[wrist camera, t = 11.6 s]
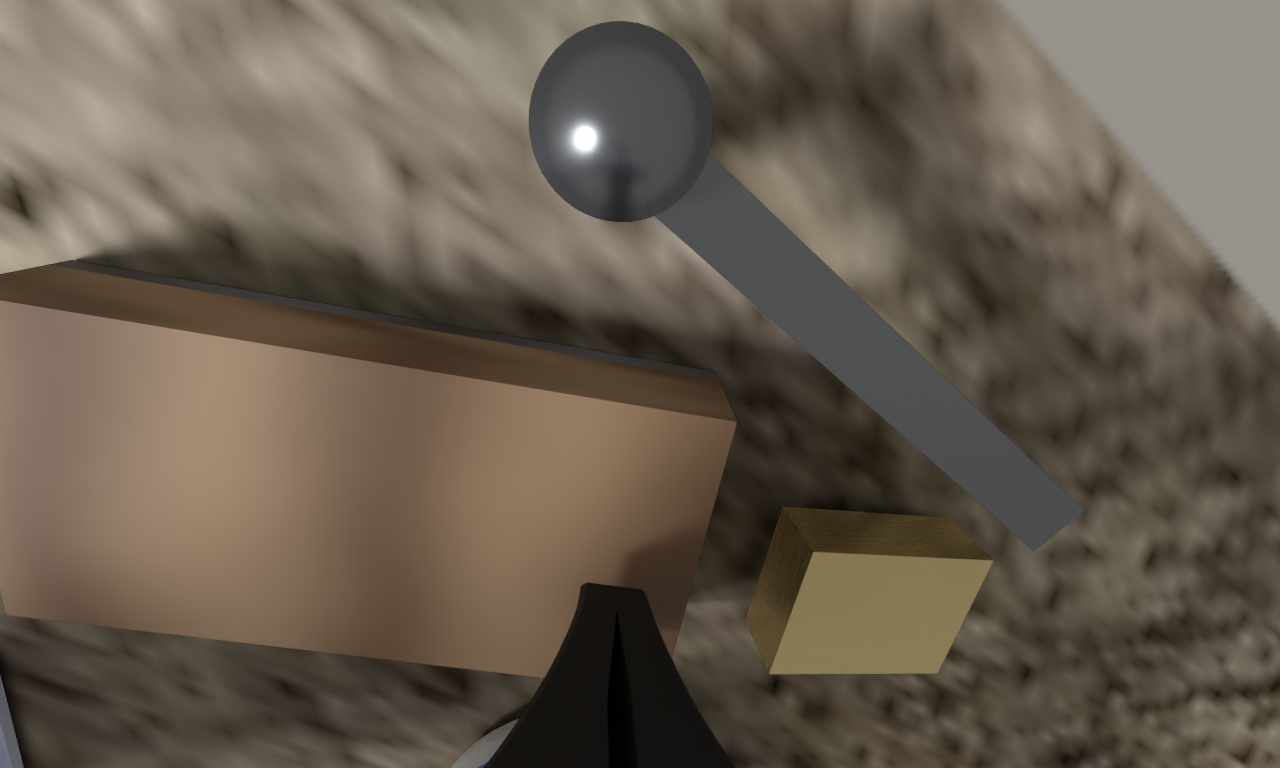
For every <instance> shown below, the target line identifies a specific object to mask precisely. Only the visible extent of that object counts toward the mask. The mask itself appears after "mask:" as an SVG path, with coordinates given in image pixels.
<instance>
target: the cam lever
mask: <svg viewBox="0 0 1280 768" xmlns="http://www.w3.org/2000/svg"><path fill="white" fill-rule="evenodd" d="M529 132H530V139H531V144H532V149H533V152H534V155H535V158H536V161H537V163H538V165H539V167H540V169H541V171H542V173H543V175H544V176H545V178H546V180H547V181H548V183H549V184H550V185H551V186H552V188H553V189H554V190H555V191H556V193H558V194H559V195H560V196H561V197H562V198H563V199H564V200H565V201H566V202H567V203H569V204H570V205H571V206H573V207H574V208H576V209H578V210H579V211H581V212H583V213H585V214H587V215H590V216H592V217H595V218H598V219H602V220H606V221H614V222H631V221H638V220H642V219H646V218H649V217H652V216H655V217H656V218H658V219H659V220H660V221H661V222H662V223H663V224H664V225H666V226H667V227H668V228H669V229H670V230H671V231H672V232H673V233H675V234H676V235H677V236H678V237H679V238H680V239H681V240H682V241H684V242H685V243H686V244H687V245H688V246H689V247H690V248H691V249H693V250H694V251H695V252H696V253H697V254H698V255H699V256H700V257H702V258H703V259H704V260H705V261H706V262H707V263H708V264H710V265H711V266H712V267H713V268H714V269H715V270H716V271H717V272H719V273H720V274H721V275H722V276H723V277H724V278H725V279H726V280H728V281H729V282H730V283H731V284H732V285H733V286H734V287H735V288H737V289H738V290H739V291H740V292H741V293H742V294H743V295H745V296H746V297H747V298H748V299H749V300H750V301H751V302H752V303H754V304H755V305H756V306H757V307H758V308H759V309H760V310H761V311H763V312H764V313H765V314H766V315H767V316H768V317H769V318H770V319H772V320H773V321H774V322H775V323H776V324H777V325H778V326H780V327H781V328H782V329H783V330H784V331H785V332H786V333H787V334H789V335H790V336H791V337H792V338H793V339H794V340H795V341H796V342H798V343H799V344H800V345H801V346H802V347H803V348H804V349H805V350H807V351H808V352H809V353H810V354H811V355H812V356H813V357H814V358H816V359H817V360H818V361H819V362H820V363H821V364H822V365H824V366H825V367H826V368H827V369H828V370H829V371H830V372H831V373H833V374H834V375H835V376H836V377H837V378H838V379H839V380H840V381H842V382H843V383H844V384H845V385H846V386H847V387H848V388H849V389H851V390H852V391H853V392H854V393H855V394H856V395H857V396H859V397H860V398H861V399H862V400H863V401H864V402H865V403H866V404H868V405H869V406H870V407H871V408H872V409H873V410H874V411H875V412H877V413H878V414H879V415H880V416H881V417H882V418H883V419H884V420H886V421H887V422H888V423H889V424H890V425H891V426H892V427H894V428H895V429H896V430H897V431H898V432H899V433H900V434H901V435H903V436H904V437H905V438H906V439H907V440H908V441H909V442H910V443H912V444H913V445H914V446H915V447H916V448H917V449H918V450H919V451H921V452H922V453H923V454H924V455H925V456H926V457H927V458H929V459H930V460H931V461H932V462H933V463H934V464H935V465H936V466H938V467H939V468H940V469H941V470H942V471H943V472H944V473H945V474H947V475H948V476H949V477H950V478H951V479H952V480H953V481H954V482H956V483H957V484H958V485H959V486H960V487H961V488H962V489H963V490H965V491H966V492H967V493H968V494H969V495H970V496H971V497H973V498H974V499H975V500H976V501H977V502H978V503H979V504H980V505H982V506H983V507H984V508H985V509H986V510H987V511H988V512H989V513H991V514H992V515H993V516H994V517H995V518H996V519H997V520H998V521H1000V522H1001V523H1002V524H1003V525H1004V526H1005V527H1006V528H1008V529H1009V530H1010V531H1011V532H1012V533H1013V534H1014V535H1015V536H1017V537H1018V538H1019V539H1020V540H1021V541H1022V542H1023V543H1024V544H1026V545H1027V546H1028V547H1029V548H1030V549H1031V550H1032V551H1034V550H1036V549H1037V548H1038V547H1040V546H1041V545H1042V544H1043V543H1045V542H1046V541H1047V540H1048V539H1050V538H1051V537H1052V536H1054V535H1055V534H1056V533H1057V532H1059V531H1060V530H1061V529H1062V528H1064V527H1065V526H1066V525H1068V524H1069V523H1070V522H1071V521H1073V520H1074V519H1075V518H1076V517H1078V516H1079V515H1080V514H1082V513H1083V512H1084V510H1083V509H1082V508H1081V507H1080V506H1079V505H1078V504H1077V503H1076V502H1075V501H1074V500H1073V499H1072V498H1071V497H1070V496H1069V495H1068V494H1067V493H1066V492H1065V491H1063V490H1062V489H1061V488H1060V487H1059V486H1058V485H1057V484H1056V483H1055V482H1054V481H1053V480H1052V479H1051V478H1050V477H1049V476H1048V475H1047V474H1046V473H1045V472H1044V471H1042V470H1041V469H1040V468H1039V467H1038V466H1037V465H1036V464H1035V463H1034V462H1033V461H1032V460H1031V459H1030V458H1029V457H1028V456H1027V455H1026V454H1025V453H1024V452H1023V451H1021V450H1020V449H1019V448H1018V447H1017V446H1016V445H1015V444H1014V443H1013V442H1012V441H1011V440H1010V439H1009V438H1008V437H1007V436H1006V435H1005V434H1004V433H1003V432H1002V431H1000V430H999V429H998V428H997V427H996V426H995V425H994V424H993V423H992V422H991V421H990V420H989V419H988V418H987V417H986V416H985V415H984V414H983V413H982V412H981V411H979V410H978V409H977V408H976V407H975V406H974V405H973V404H972V403H971V402H970V401H969V400H968V399H967V398H966V397H965V396H964V395H963V394H962V393H961V392H960V391H958V390H957V389H956V388H955V387H954V386H953V385H952V384H951V383H950V382H949V381H948V380H947V379H946V378H945V377H944V376H943V375H942V374H941V373H940V372H939V371H937V370H936V369H935V368H934V367H933V366H932V365H931V364H930V363H929V362H928V361H927V360H926V359H925V358H924V357H923V356H922V355H921V354H920V353H919V352H918V351H916V350H915V349H914V348H913V347H912V346H911V345H910V344H909V343H908V342H907V341H906V340H905V339H904V338H903V337H902V336H901V335H900V334H899V333H898V332H897V331H895V330H894V329H893V328H892V327H891V326H890V325H889V324H888V323H887V322H886V321H885V320H884V319H883V318H882V317H881V316H880V315H879V314H878V313H877V312H876V311H874V310H873V309H872V308H871V307H870V306H869V305H868V304H867V303H866V302H865V301H864V300H863V299H862V298H861V297H860V296H859V295H858V294H857V293H856V292H855V291H853V290H852V289H851V288H850V287H849V286H848V285H847V284H846V283H845V282H844V281H843V280H842V279H841V278H840V277H839V276H838V275H837V274H836V273H835V272H834V271H832V270H831V269H830V268H829V267H828V266H827V265H826V264H825V263H824V262H823V261H822V260H821V259H820V258H819V257H818V256H817V255H816V254H815V253H814V252H813V251H811V250H810V249H809V248H808V247H807V246H806V245H805V244H804V243H803V242H802V241H801V240H800V239H799V238H798V237H797V236H796V235H795V234H794V233H793V232H792V231H790V230H789V229H788V228H787V227H786V226H785V225H784V224H783V223H782V222H781V221H780V220H779V219H778V218H777V217H776V216H775V215H774V214H773V213H772V212H770V211H769V210H768V209H767V208H766V207H765V206H764V205H763V204H762V203H761V202H760V201H759V200H758V199H757V198H756V197H755V196H754V195H753V194H752V193H751V192H749V191H748V190H747V189H746V188H745V187H744V186H743V185H742V184H741V183H740V182H739V181H738V180H737V179H736V178H735V177H734V176H733V175H732V174H731V173H730V172H728V171H727V170H726V169H725V168H724V167H723V166H722V165H721V164H720V163H719V162H718V161H717V160H716V159H715V158H714V157H713V156H712V155H711V154H710V153H709V150H710V146H711V140H712V134H713V113H712V105H711V100H710V95H709V92H708V89H707V86H706V83H705V81H704V78H703V76H702V74H701V72H700V70H699V69H698V67H697V66H696V64H695V63H694V61H693V60H692V58H691V57H690V56H689V55H688V53H687V52H686V51H685V50H684V49H683V48H682V47H681V46H680V45H679V44H678V43H676V42H675V41H674V40H673V39H671V38H670V37H668V36H667V35H665V34H664V33H662V32H660V31H658V30H656V29H654V28H652V27H649V26H646V25H642V24H639V23H633V22H626V21H615V22H607V23H600V24H597V25H594V26H591V27H588V28H586V29H584V30H582V31H580V32H578V33H576V34H574V35H573V36H571V37H570V38H569V39H567V40H566V41H565V42H563V43H562V44H561V45H560V46H559V47H558V48H557V49H556V50H555V51H554V53H553V54H552V55H551V56H550V57H549V59H548V60H547V62H546V63H545V65H544V66H543V68H542V70H541V72H540V74H539V76H538V78H537V81H536V83H535V86H534V89H533V93H532V96H531V102H530V108H529Z"/></svg>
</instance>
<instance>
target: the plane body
mask: <svg viewBox="0 0 1280 768" xmlns="http://www.w3.org/2000/svg"><path fill="white" fill-rule="evenodd" d="M736 424H737V421H736V418H735V416H734V414H733V411H732V409H731V407H730V404H729V402H728V400H727V398H726V395H725V393H724V391H723V388H722V386H721V384H720V381H719V379H718V377H717V375H716V372H715V371H710V370H704V369H699V368H693V367H687V366H681V365H676V364H670V363H664V362H658V361H652V360H647V359H641V358H635V357H629V356H624V355H618V354H612V353H606V352H601V351H595V350H589V349H583V348H577V347H572V346H566V345H560V344H554V343H549V342H543V341H537V340H531V339H525V338H520V337H514V336H508V335H502V334H497V333H491V332H485V331H479V330H473V329H468V328H462V327H456V326H450V325H445V324H439V323H433V322H427V321H421V320H416V319H410V318H404V317H398V316H393V315H387V314H381V313H375V312H370V311H364V310H358V309H352V308H346V307H341V306H335V305H329V304H323V303H318V302H312V301H306V300H300V299H294V298H289V297H283V296H277V295H271V294H266V293H260V292H254V291H248V290H242V289H237V288H231V287H225V286H219V285H214V284H208V283H202V282H196V281H190V280H185V279H179V278H173V277H167V276H162V275H156V274H150V273H144V272H138V271H133V270H127V269H121V268H115V267H110V266H104V265H98V264H92V263H87V262H81V261H75V260H69V261H64V262H59V263H54V264H49V265H44V266H39V267H34V268H29V269H24V270H19V271H14V272H9V273H4V274H0V591H1V596H2V600H3V604H4V608H5V613H6V615H9V616H18V617H26V618H35V619H44V620H52V621H61V622H69V623H78V624H86V625H95V626H103V627H112V628H120V629H129V630H138V631H146V632H155V633H163V634H172V635H180V636H189V637H197V638H206V639H215V640H223V641H232V642H240V643H249V644H257V645H266V646H274V647H283V648H291V649H300V650H309V651H317V652H326V653H334V654H343V655H351V656H360V657H368V658H377V659H385V660H394V661H403V662H411V663H420V664H428V665H437V666H445V667H454V668H462V669H471V670H480V671H488V672H497V673H505V674H514V675H522V676H531V677H539V678H545V676H546V674H547V672H548V670H549V668H550V667H551V665H552V663H553V661H554V659H555V657H556V655H557V653H558V651H559V649H560V647H561V645H562V643H563V641H564V638H565V636H566V634H567V632H568V630H569V627H570V625H571V622H572V619H573V617H574V614H575V611H576V608H577V603H578V598H579V593H580V588H581V586H582V585H583V584H585V583H587V582H589V583H596V584H604V585H611V586H619V587H626V588H634V589H641V590H643V591H644V592H645V594H646V595H647V599H648V602H649V605H650V608H651V610H652V613H653V616H654V618H655V621H656V624H657V626H658V629H659V631H660V633H661V636H662V638H663V641H664V643H665V645H666V647H667V650H668V652H669V654H670V656H671V658H672V655H673V652H674V648H675V644H676V641H677V637H678V634H679V630H680V626H681V623H682V619H683V616H684V612H685V608H686V605H687V601H688V597H689V594H690V590H691V587H692V583H693V579H694V576H695V572H696V569H697V565H698V561H699V558H700V554H701V551H702V547H703V543H704V540H705V536H706V533H707V529H708V525H709V522H710V518H711V515H712V511H713V507H714V504H715V500H716V496H717V493H718V489H719V486H720V482H721V478H722V475H723V471H724V468H725V464H726V460H727V457H728V453H729V450H730V446H731V442H732V439H733V435H734V432H735V428H736Z"/></svg>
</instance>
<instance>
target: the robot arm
mask: <svg viewBox="0 0 1280 768" xmlns="http://www.w3.org/2000/svg"><path fill="white" fill-rule="evenodd" d="M0 768H24V766H23V762H22V758H21V755H20V751H19V747H18V743H17V739H16V735H15V731H14V727H13V723H12V719H11V715H10V711H9V707H8V703H7V699H6V695H5V691H4V687H3V683H2V679H1V676H0ZM483 768H736V767H735V765H734V764H733V763H732V761H731V760H730V758H729V757H728V756H727V754H726V753H725V751H724V750H723V748H722V747H721V745H720V744H719V742H718V741H717V739H716V738H715V736H714V735H713V733H712V731H711V730H710V728H709V727H708V725H707V723H706V722H705V720H704V718H703V717H702V715H701V713H700V712H699V710H698V708H697V706H696V705H695V703H694V701H693V699H692V697H691V696H690V694H689V692H688V690H687V688H686V686H685V684H684V682H683V681H682V679H681V677H680V675H679V673H678V671H677V668H676V666H675V664H674V662H673V660H672V658H671V656H670V654H669V652H668V650H667V647H666V645H665V643H664V641H663V638H662V636H661V633H660V631H659V629H658V626H657V624H656V621H655V618H654V616H653V613H652V610H651V608H650V605H649V602H648V599H647V595H646V594H645V592H644V591H643V590H641V589H634V588H626V587H619V586H611V585H604V584H596V583H589V582H587V583H585V584H583V585H582V586H581V588H580V593H579V598H578V603H577V608H576V611H575V614H574V617H573V619H572V622H571V625H570V627H569V630H568V632H567V634H566V636H565V638H564V641H563V643H562V645H561V647H560V649H559V651H558V653H557V655H556V657H555V659H554V661H553V663H552V665H551V667H550V668H549V670H548V672H547V674H546V676H545V678H544V679H543V681H542V683H541V685H540V687H539V688H538V690H537V692H536V693H535V695H534V696H533V698H532V700H531V701H530V703H529V704H528V706H527V708H526V709H525V711H524V712H523V714H522V715H521V717H520V718H519V720H518V721H517V723H516V724H515V726H514V727H513V728H512V730H511V731H510V733H509V734H508V735H507V737H506V738H505V739H504V741H503V742H502V744H501V745H500V746H499V748H498V749H497V751H496V752H495V753H494V754H493V756H492V757H491V758H490V760H489V761H488V762H487V763H486V765H485V766H484V767H483Z"/></svg>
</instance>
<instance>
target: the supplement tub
mask: <svg viewBox="0 0 1280 768" xmlns="http://www.w3.org/2000/svg"><path fill="white" fill-rule="evenodd" d="M518 720H519V719H517V720H514V721H512V722H509V723H507V724H505V725H503V726H501V727H499V728H497V729H495V730H493V731H492V732H490V733H488V734H487V735H485V736H484V737H482V738H481V739H479V740H478V741H477V742H475V743H474V744H473V745H472V746H470V747H469V748H468V749H467V750H466V751H465V752H464V753H463V754H462V755H461V756H460V757H459V758H458V759H457V761H456V762H455V763H454V764H453V766H452V767H451V768H483V767H484V766H485V765H486V763H487V762H488V761H489V760H490V758H491V757H492V756H493V754H494V753H495V752H496V751H497V749H498V748H499V746H500V745H501V744H502V742H503V741H504V739H505V738H506V737H507V735H508V734H509V733H510V731H511V730H512V728H513V727H514V726H515V724H516V723H517V721H518Z"/></svg>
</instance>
